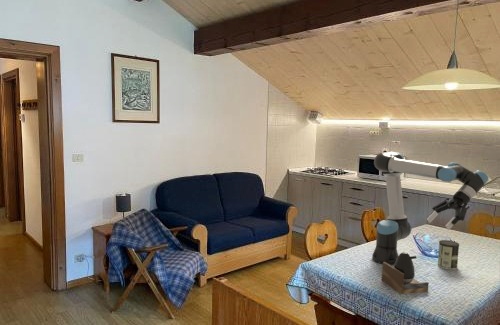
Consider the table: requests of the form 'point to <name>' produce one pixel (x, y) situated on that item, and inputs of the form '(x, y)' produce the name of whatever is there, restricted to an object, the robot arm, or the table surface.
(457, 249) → the coffee can
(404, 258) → the pump dispenser
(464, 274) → the table surface
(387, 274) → the stand
